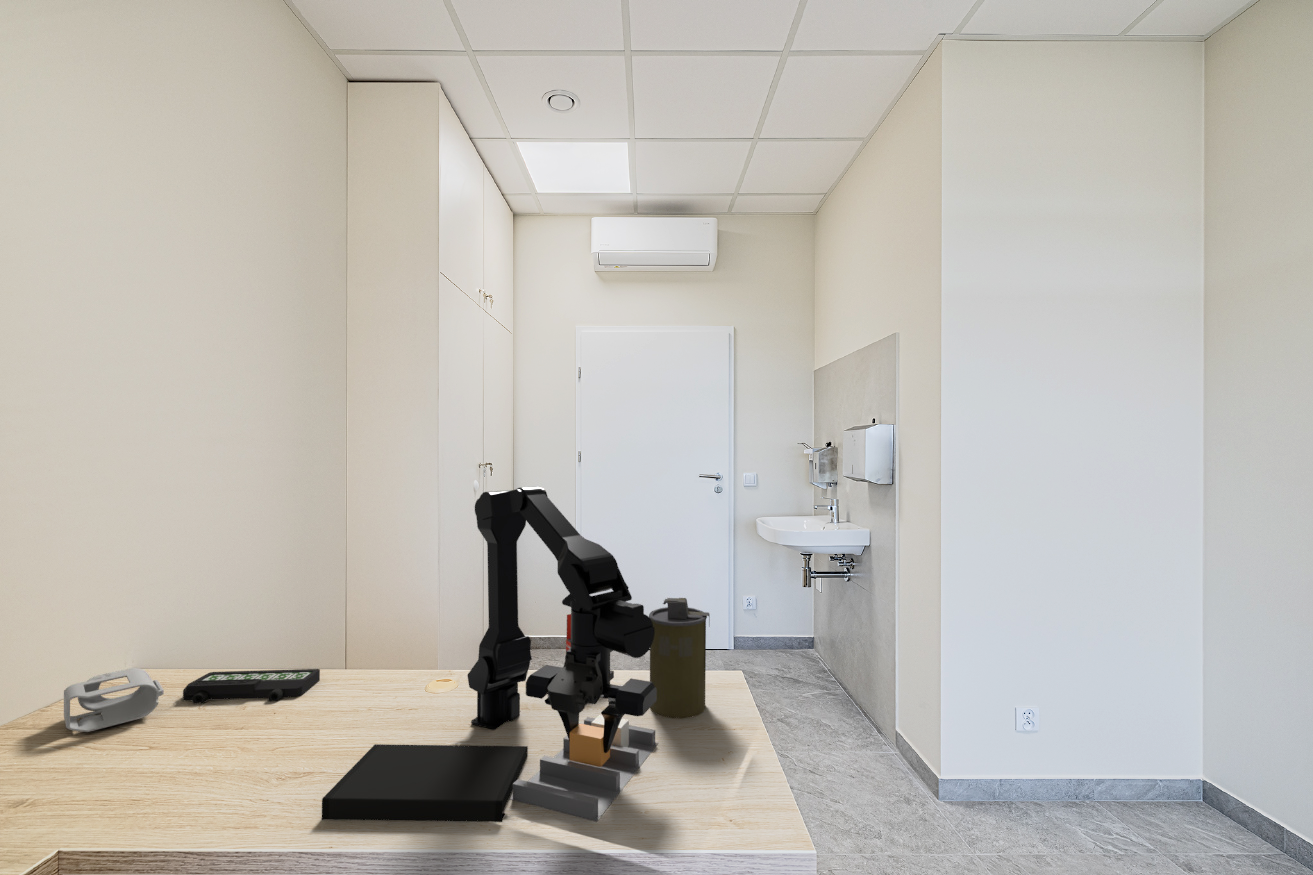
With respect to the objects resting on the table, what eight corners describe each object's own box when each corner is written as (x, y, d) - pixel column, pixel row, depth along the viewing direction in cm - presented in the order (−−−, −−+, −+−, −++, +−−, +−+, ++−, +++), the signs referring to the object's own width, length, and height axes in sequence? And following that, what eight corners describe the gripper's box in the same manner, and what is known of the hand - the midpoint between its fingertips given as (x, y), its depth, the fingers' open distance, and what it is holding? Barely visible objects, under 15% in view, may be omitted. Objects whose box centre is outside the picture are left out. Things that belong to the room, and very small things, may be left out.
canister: (644, 722, 104) (645, 606, 104) (652, 697, 114) (652, 591, 115) (708, 726, 103) (708, 608, 103) (709, 700, 113) (710, 593, 113)
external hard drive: (501, 824, 77) (502, 801, 77) (321, 822, 77) (321, 798, 77) (527, 765, 91) (527, 745, 91) (374, 763, 91) (375, 743, 91)
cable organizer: (62, 680, 105) (67, 700, 97) (154, 661, 114) (166, 678, 106) (62, 718, 105) (67, 742, 97) (154, 696, 114) (165, 716, 106)
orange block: (569, 760, 87) (569, 732, 87) (579, 750, 90) (579, 723, 90) (600, 767, 85) (600, 738, 85) (609, 756, 88) (610, 729, 88)
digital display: (175, 688, 111) (210, 669, 121) (174, 706, 111) (210, 686, 121) (296, 684, 112) (321, 666, 122) (295, 702, 112) (321, 682, 122)
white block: (591, 748, 93) (591, 722, 93) (599, 739, 96) (600, 714, 96) (620, 754, 91) (620, 728, 91) (628, 745, 94) (628, 719, 94)
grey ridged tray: (509, 806, 80) (509, 783, 80) (585, 734, 100) (585, 716, 100) (596, 829, 75) (596, 805, 75) (658, 749, 95) (658, 730, 95)
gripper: (503, 649, 84) (502, 762, 84) (626, 668, 77) (625, 791, 77) (546, 626, 94) (545, 727, 94) (658, 641, 87) (657, 750, 87)
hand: (589, 748), depth 88 cm, fingers closed on orange block, 5 cm apart
